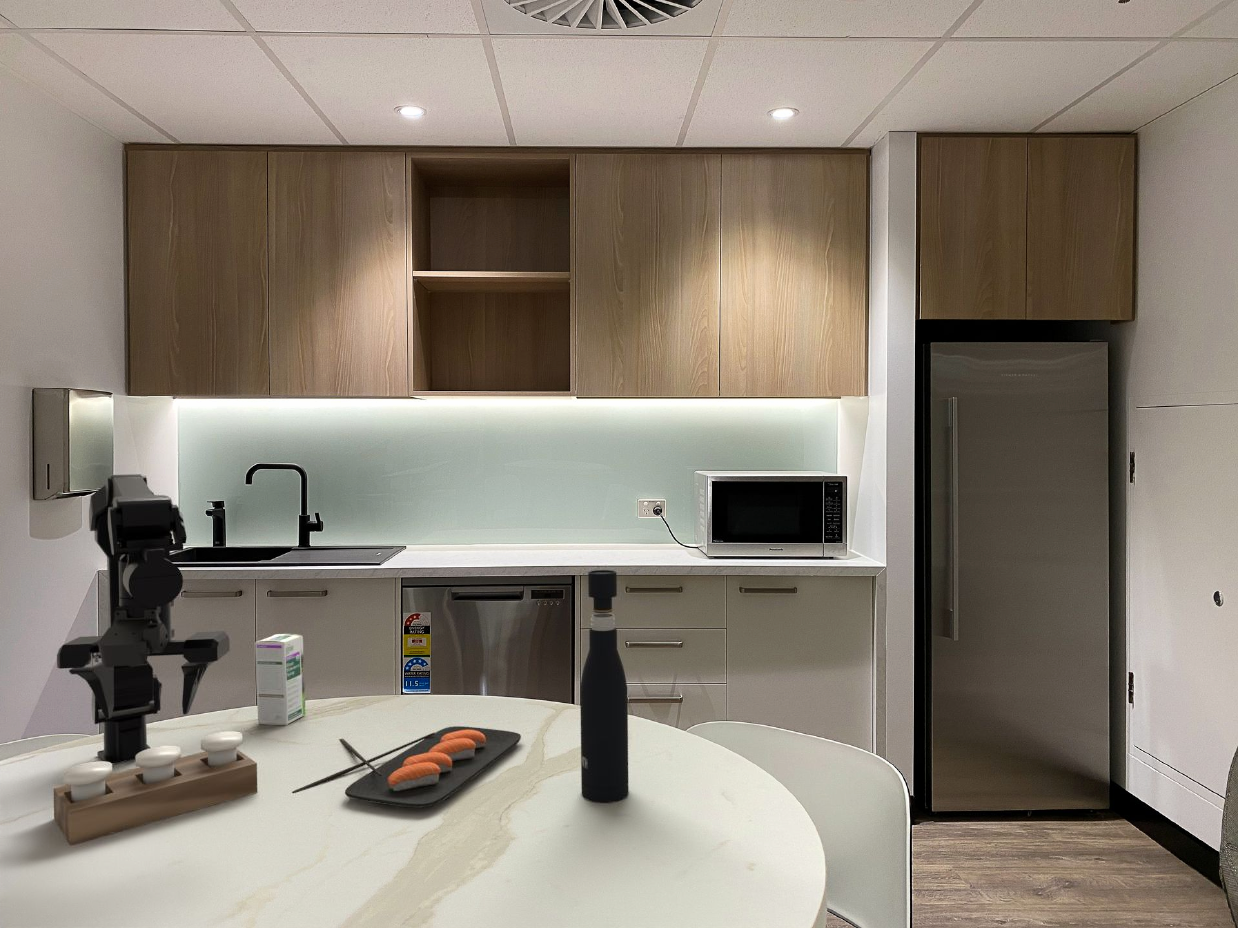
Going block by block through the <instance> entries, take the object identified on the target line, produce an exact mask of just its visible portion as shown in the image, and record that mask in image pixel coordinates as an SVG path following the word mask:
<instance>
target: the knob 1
mask: <svg viewBox="0 0 1238 928" xmlns="http://www.w3.org/2000/svg"><path fill="white" fill-rule="evenodd" d="M62 774H63V775H62V779H63V780H62V782H63V784H64V785H71V798H72V803H75V802H79V801H83V800H87V799H91V798H95V797H99V796H103V795H105V778H107V777H109V776H110V775H111V774H113V764H112V763H110V762H105V761H102V760H101V761H100V760H99V761H91V762H90V761H89V762H85V763H80V764H77V765H74V766H71V767H70V768H67V769H65V770H64V771H63V773H62Z"/></svg>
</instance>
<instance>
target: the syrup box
mask: <svg viewBox="0 0 1238 928" xmlns="http://www.w3.org/2000/svg"><path fill="white" fill-rule="evenodd" d="M254 647H255V649H254V650H255V651H254V652H255V675H256V676H255V678H256V681H255V682H256V699H257V702H256V703H257V705H256V706H257V723H258V724H262V725H270V726H288V725H290V724H291V723H292V722H294V721H297V720H298V719H300V718H301V717H304V716H306V694H305V693H306V692H305V691H306V690H305V688H306V687H305V686H306V685H305V663H304V660H305V658H304V638H303V635H301V634H297V633H282V634H281V633H277V634H273V635H272V636H269V637H265V638H263V639H260V640H257V641H255V643H254Z"/></svg>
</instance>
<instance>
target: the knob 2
mask: <svg viewBox="0 0 1238 928" xmlns="http://www.w3.org/2000/svg"><path fill="white" fill-rule="evenodd" d="M242 744H243V734H242V732H239V731H221V732H215V733H212V734H209V735H205V736H204V737H203V738H201V740H200V749H201V751H202V752H205V751H208V767H209V768H213V767H217V766H221V765H225V764H229V763H232V762H236V761H237V759H236V749H237V748H238V747H239V746H241V745H242Z"/></svg>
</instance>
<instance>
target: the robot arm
mask: <svg viewBox="0 0 1238 928" xmlns="http://www.w3.org/2000/svg"><path fill="white" fill-rule="evenodd" d="M89 497H90V499H89V508H88V509H89V510H88V524H89V525H88V527H89V532H94V541H95V543H96V544H97V546H98V547H99V548H100V549H101V551H102V552H103V554H105V556H106V568H107V570H106V571H107V609H108V610H107V613H108V615H107V618H108V628H107V629H106V631H105V632H104V634H103V635H93V636H79V637H77V638H74V639H72V640H70V641H68V642H65V644H64V643H63V644H62V645H61V646H60V648H59V649H58V651H57V654H56V668H57V669H61V670H62V669H69V670H68V672H69V673H70V675H77V676H79V677H80V678H82V679H83V680H85V681H86V683H87V685H88V686H89V688H90V690H91V691H92V693H91V694H92V695H91V696H92V697H91V718H92V720H93V724H94V725H99V724H101V723H102V724H103V726H102V727H103V750H99V751H97V757H99V759H100V760H101V761H105V762H110V763H112V765H114V764H118V763H122V762H127V761H131V760H136V755H137V754H138V753H139V752H141V751H144V750H146V749H150V748H151V746H150V745H148V743H147V742H148V741H147V739H148V738H147V715H157V714H158V712H159V711H162V710H161V700H162V699H161V696H162V690H163V689H162V688H163V685H162V682H161V681H160V680H159V678H158V675H157V674H154V668H153V667H152V665H151V663H150V662H149V661H148V658H149V657H157V656H158V657H159V656H161V657H164V656H180V655H181V656H182V657H183V658H184V659H185V660H186V662H185V663H184V664H182V665H181V666H180V667H181V670H182V675H183V685H182V702H181V706H182V715H187V714H189V712H190V711H191V707H192V705H193V702H194V699H195V697H196V694H197V691H198V688H199V686H200V683H201V681H202V679H203V677H204V674H205V673H206V671H207V669H208V668H209V667H210V666H211V665H212V664H214V663H215V662H217V661H219V660H220V659H222V658H223V657H224V656H225V655H226V654H228V653H229V652H230V651H231V650H230V645H231V644H230V637H229V635H228V634H227V633H226V631H224V630H222V631H221V630H220V631H219V630H218V631H197V632H196V633H194V634H193V635H191V636H189V637H188V638H186V639H176V640H175V639H172V638H175V628H172V612H171V611H172V607H174V606H175V603H174V601H175V599H177V597H178V596H179V594H180V593H181V590H182V588H183V585H184V577H183V575H182V572H181V570H180V568H179V567H178V566H177V565H176V564H175V563H174V562H172V561H171V552H179V551H184V544H186V542H187V533H186V527H185V521H184V516H183V513H182V512H181V511H180V509H179V506H178V505H177V504H173V501H172V500H173V499H172V498H171V497H170V496H168V495H164V494H163V495H162V494H161V495H160V494H154V492H153V491H152V490H151V488H149V486H148V478H147V475H142V474H141V473H138V474H137V473H136V474H135V473H134V474H132V473H131V474H111V475H110V476H106V478H105V484H104V486H102V487H101V488H99V489H98V490H97V491H95V492H94V493H93V494H91V495H90V496H89ZM100 710H101V711H100Z"/></svg>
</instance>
